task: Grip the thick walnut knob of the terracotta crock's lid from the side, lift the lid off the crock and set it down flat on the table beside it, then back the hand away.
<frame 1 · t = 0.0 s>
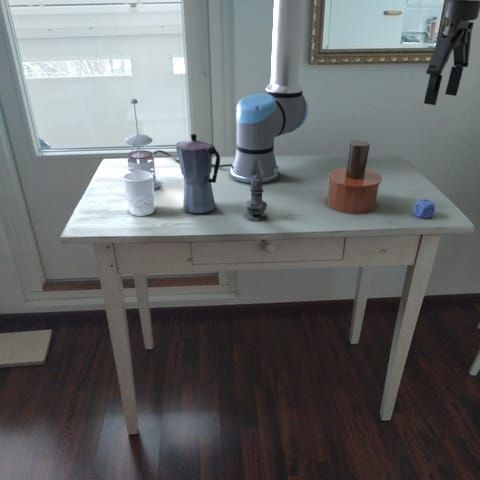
hand: (440, 99, 122), 28 cm above the table, tool pointing down, fingers open, 13 cm apart
moka pot: (201, 209, 135), on the table
pot: (350, 203, 139), on the table
decorative dice: (422, 216, 133), on the table
french press: (143, 185, 149), on the table
white cup: (142, 211, 134), on the table
salt shaker: (255, 217, 131), on the table
lid: (354, 178, 134), point 7 cm above the table, touching pot
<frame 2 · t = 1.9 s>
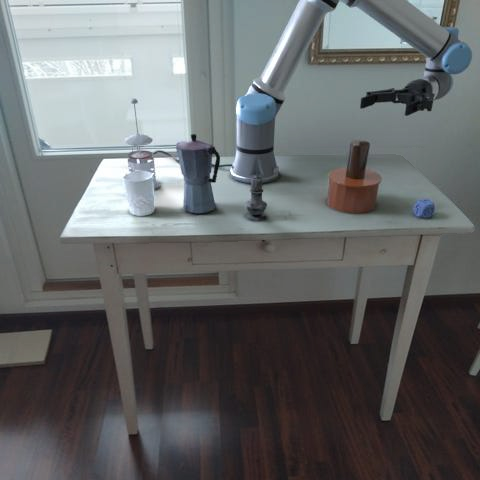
hand: (383, 106, 131), 24 cm above the table, tool horizontal, fingers open, 13 cm apart
nothing on the table moved.
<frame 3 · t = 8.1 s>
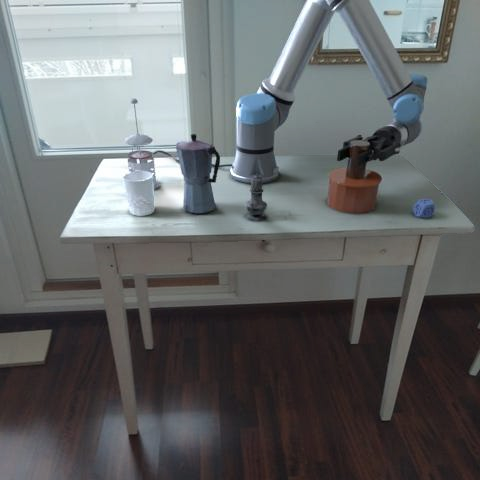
hand: (348, 158, 127), 14 cm above the table, tool horizontal, fingers closed on lid, 5 cm apart
lid: (354, 178, 134), point 7 cm above the table, touching gripper, pot
everything else where it was.
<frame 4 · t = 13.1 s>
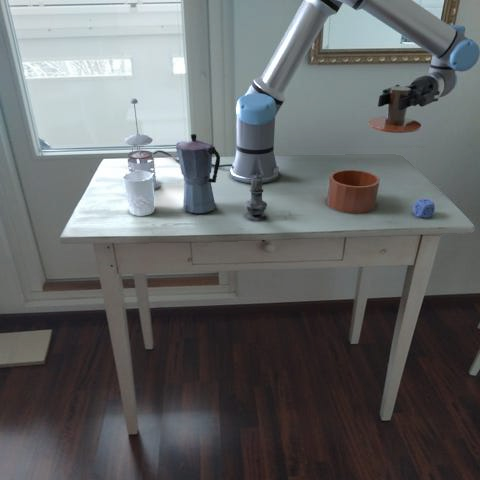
hand: (390, 102, 129), 26 cm above the table, tool horizontal, fingers closed on lid, 5 cm apart
lid: (394, 125, 136), point 19 cm above the table, touching gripper
everything else where it was.
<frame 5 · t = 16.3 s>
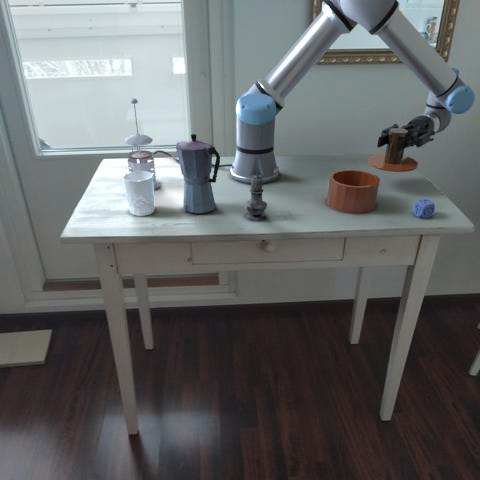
hand: (388, 144, 138), 14 cm above the table, tool horizontal, fingers closed on lid, 5 cm apart
lid: (392, 163, 145), point 7 cm above the table, touching gripper
everything else where it was.
when the fingers open (7 cm above the table, at t = 18.4 s): lid stays where it is, point 1 cm above the table.
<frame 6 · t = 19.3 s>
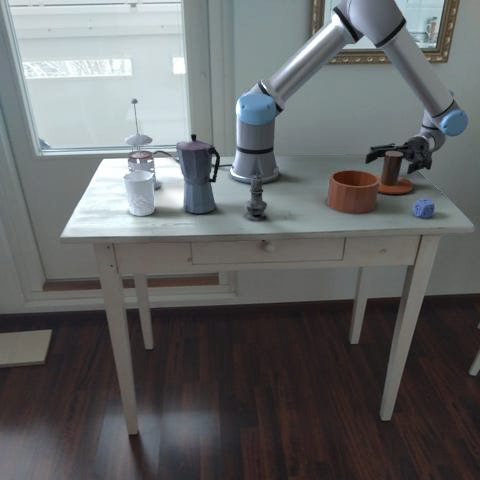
hand: (387, 164, 143), 8 cm above the table, tool horizontal, fingers open, 13 cm apart
lid: (388, 184, 149), point 1 cm above the table
everything else where it was.
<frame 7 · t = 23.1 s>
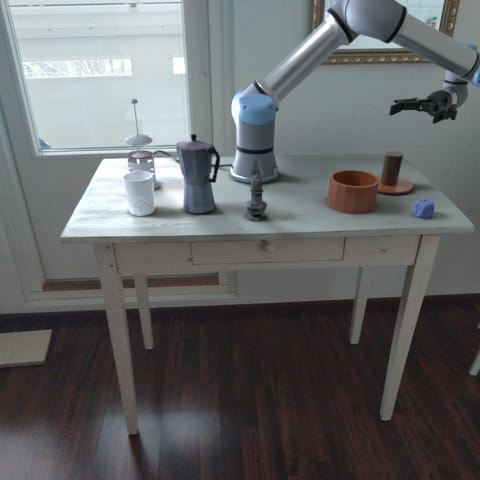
hand: (412, 114, 142), 20 cm above the table, tool horizontal, fingers open, 13 cm apart
nothing on the table moved.
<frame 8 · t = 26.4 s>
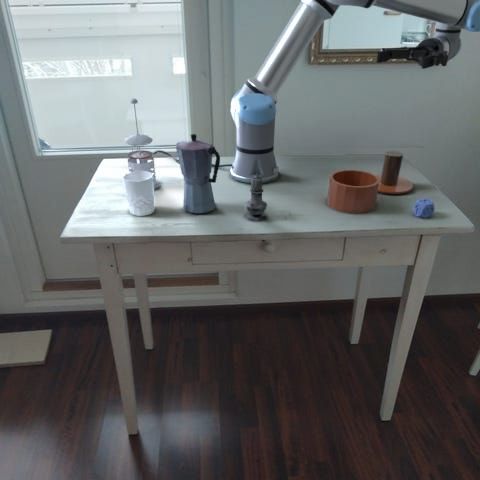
hand: (400, 60, 134), 34 cm above the table, tool horizontal, fingers open, 13 cm apart
nothing on the table moved.
at the end: lid inside the target area (0.0 cm from its centre), point 0.6 cm above the table; lid tilted 0°; the gripper is holding nothing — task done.
